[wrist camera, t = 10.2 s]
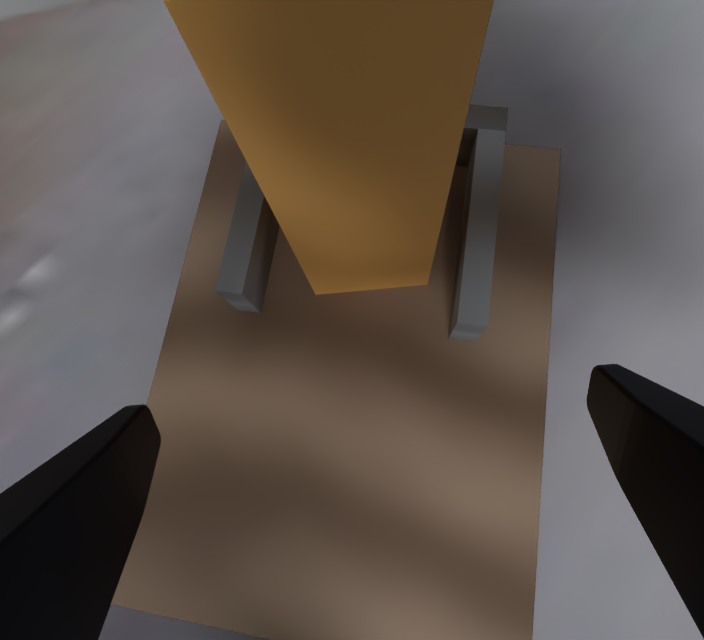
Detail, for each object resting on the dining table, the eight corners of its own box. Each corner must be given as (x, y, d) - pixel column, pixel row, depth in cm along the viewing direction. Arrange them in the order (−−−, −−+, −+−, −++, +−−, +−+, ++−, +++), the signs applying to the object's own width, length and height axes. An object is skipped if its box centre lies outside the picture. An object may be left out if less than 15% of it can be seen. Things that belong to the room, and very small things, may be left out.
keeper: (519, 678, 16) (555, 747, 12) (114, 590, 18) (45, 628, 14) (551, 165, 21) (584, 108, 17) (230, 136, 22) (199, 78, 19)
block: (427, 284, 19) (503, -44, 6) (315, 295, 19) (163, 1, 6) (415, 184, 20) (459, -269, 7) (310, 195, 20) (174, -222, 7)
